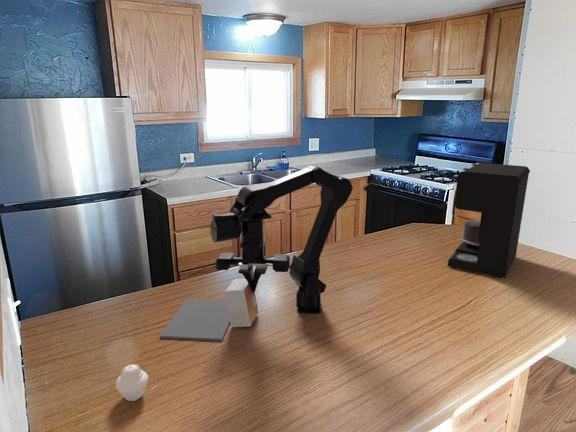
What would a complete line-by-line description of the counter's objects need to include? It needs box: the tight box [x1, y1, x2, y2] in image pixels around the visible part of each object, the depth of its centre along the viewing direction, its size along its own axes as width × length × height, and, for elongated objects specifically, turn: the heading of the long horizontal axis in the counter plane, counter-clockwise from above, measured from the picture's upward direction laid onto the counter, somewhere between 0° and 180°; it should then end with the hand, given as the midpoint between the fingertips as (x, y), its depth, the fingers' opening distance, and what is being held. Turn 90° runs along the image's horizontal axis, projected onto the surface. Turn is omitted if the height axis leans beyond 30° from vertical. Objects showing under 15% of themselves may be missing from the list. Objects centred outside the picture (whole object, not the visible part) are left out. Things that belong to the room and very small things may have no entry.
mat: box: [159, 298, 231, 342], centre depth 113 cm, size 16×20×1 cm
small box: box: [223, 278, 259, 328], centre depth 111 cm, size 8×6×10 cm
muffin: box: [115, 364, 149, 402], centre depth 83 cm, size 6×6×7 cm
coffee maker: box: [447, 162, 531, 280], centre depth 149 cm, size 28×20×35 cm
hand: (254, 292), depth 110 cm, fingers closed
